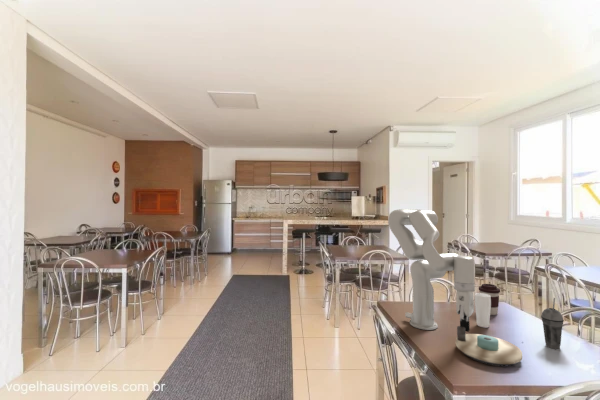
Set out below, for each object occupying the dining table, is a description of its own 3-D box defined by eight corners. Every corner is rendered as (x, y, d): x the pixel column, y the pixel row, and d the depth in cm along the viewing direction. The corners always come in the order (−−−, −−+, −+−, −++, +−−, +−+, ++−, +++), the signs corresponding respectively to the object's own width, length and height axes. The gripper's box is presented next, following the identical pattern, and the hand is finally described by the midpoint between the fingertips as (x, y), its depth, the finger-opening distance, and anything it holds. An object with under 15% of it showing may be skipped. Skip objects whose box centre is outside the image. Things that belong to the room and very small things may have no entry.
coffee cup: (504, 316, 158) (504, 287, 159) (485, 316, 159) (485, 287, 159) (493, 309, 168) (492, 282, 169) (475, 309, 168) (474, 282, 169)
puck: (476, 347, 116) (476, 339, 116) (478, 341, 122) (478, 333, 122) (498, 352, 112) (498, 344, 112) (498, 345, 118) (498, 337, 118)
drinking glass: (486, 323, 149) (486, 293, 149) (494, 329, 142) (493, 297, 142) (472, 323, 149) (471, 292, 150) (479, 328, 143) (478, 296, 143)
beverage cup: (536, 343, 127) (535, 295, 128) (552, 342, 128) (551, 295, 128) (552, 351, 120) (551, 300, 120) (569, 350, 121) (568, 300, 121)
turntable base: (456, 355, 117) (456, 351, 117) (467, 339, 130) (467, 336, 130) (512, 371, 105) (512, 367, 105) (518, 353, 118) (518, 349, 119)
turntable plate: (451, 352, 115) (451, 335, 115) (460, 333, 133) (459, 318, 133) (522, 370, 102) (522, 351, 103) (521, 346, 120) (521, 330, 120)
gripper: (470, 291, 118) (471, 339, 117) (478, 284, 129) (478, 327, 129) (449, 288, 122) (450, 333, 122) (458, 281, 134) (459, 322, 133)
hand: (464, 330), depth 125 cm, fingers closed
